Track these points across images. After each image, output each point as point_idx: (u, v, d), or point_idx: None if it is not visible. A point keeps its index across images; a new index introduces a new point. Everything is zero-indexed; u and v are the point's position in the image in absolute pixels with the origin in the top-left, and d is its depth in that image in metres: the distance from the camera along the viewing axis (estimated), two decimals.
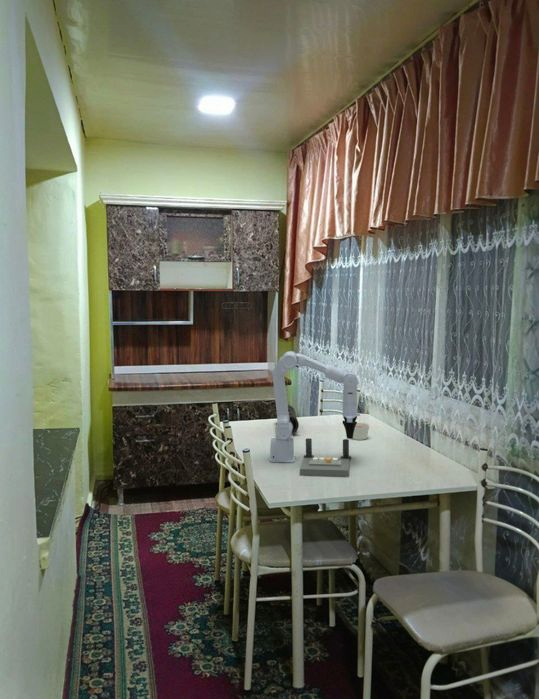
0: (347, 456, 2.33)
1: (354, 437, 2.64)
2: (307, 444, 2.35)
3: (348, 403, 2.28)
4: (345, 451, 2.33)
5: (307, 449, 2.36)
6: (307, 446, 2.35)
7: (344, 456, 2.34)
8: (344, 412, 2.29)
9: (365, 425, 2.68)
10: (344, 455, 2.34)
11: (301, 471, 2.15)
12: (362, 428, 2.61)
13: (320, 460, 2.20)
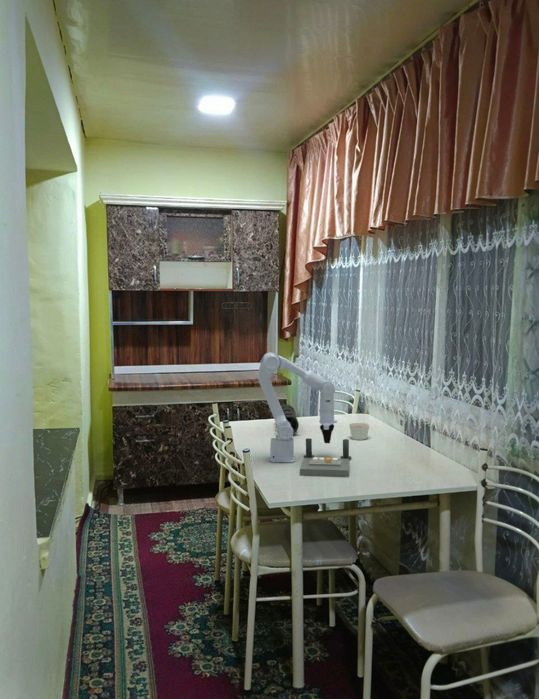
0: (347, 456, 2.33)
1: (354, 437, 2.64)
2: (307, 444, 2.35)
3: (326, 411, 2.32)
4: (345, 451, 2.33)
5: (307, 449, 2.36)
6: (307, 446, 2.35)
7: (344, 456, 2.34)
8: (321, 419, 2.33)
9: (365, 425, 2.68)
10: (344, 455, 2.34)
11: (301, 471, 2.15)
12: (362, 428, 2.61)
13: (320, 460, 2.20)
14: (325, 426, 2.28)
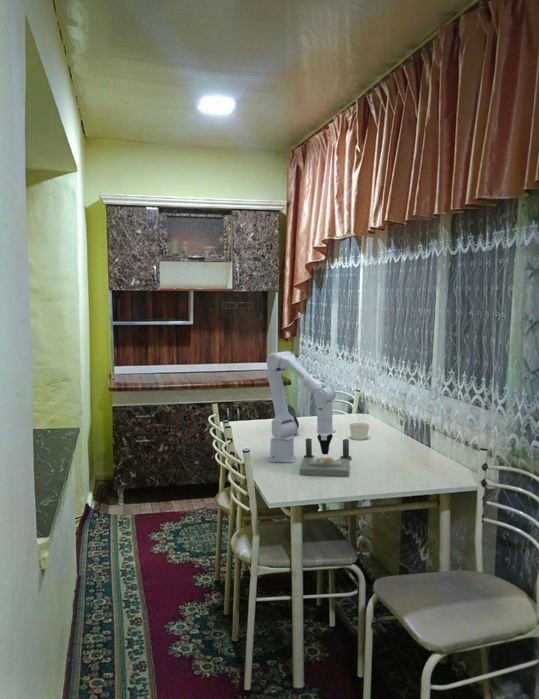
0: (347, 456, 2.33)
1: (354, 437, 2.64)
2: (307, 444, 2.35)
3: (318, 419, 2.17)
4: (345, 451, 2.33)
5: (307, 449, 2.36)
6: (307, 446, 2.35)
7: (344, 456, 2.34)
8: (319, 429, 2.18)
9: (365, 425, 2.68)
10: (344, 455, 2.34)
11: (301, 471, 2.15)
12: (362, 428, 2.61)
13: (320, 460, 2.20)
14: (323, 436, 2.12)
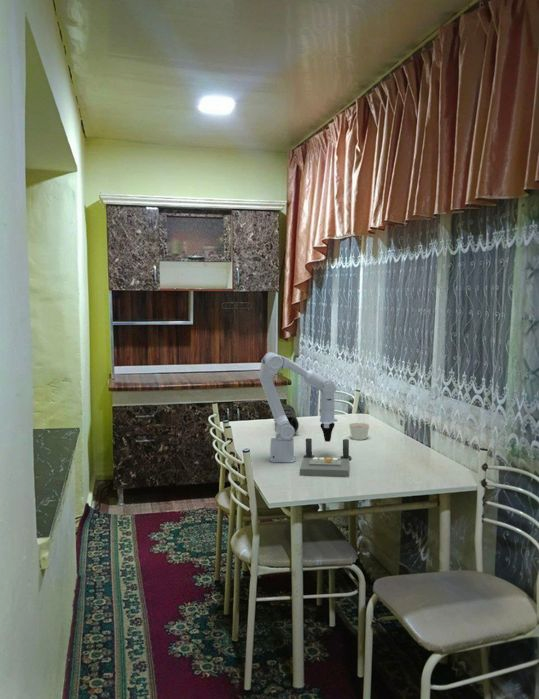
0: (347, 456, 2.33)
1: (354, 437, 2.64)
2: (307, 444, 2.35)
3: (327, 409, 2.34)
4: (345, 451, 2.33)
5: (307, 449, 2.36)
6: (307, 446, 2.35)
7: (344, 456, 2.34)
8: (321, 418, 2.36)
9: (365, 425, 2.68)
10: (344, 455, 2.34)
11: (301, 471, 2.15)
12: (362, 428, 2.61)
13: (320, 460, 2.20)
14: (325, 424, 2.30)
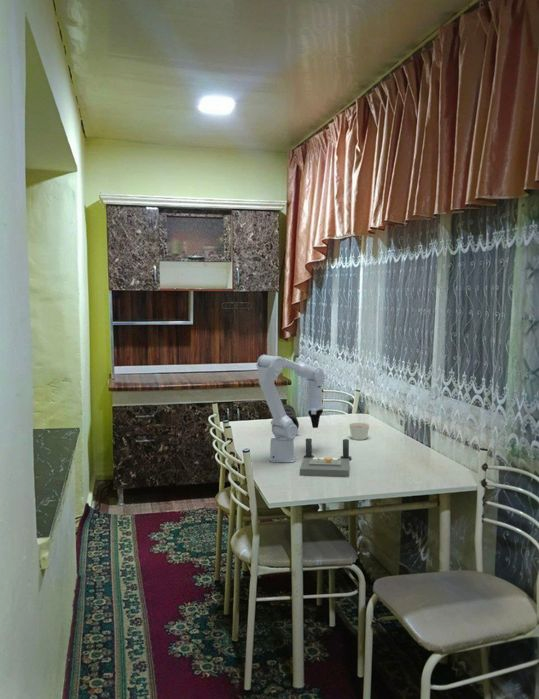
0: (347, 456, 2.33)
1: (354, 437, 2.64)
2: (307, 444, 2.35)
3: (318, 396, 2.41)
4: (345, 451, 2.33)
5: (307, 449, 2.36)
6: (307, 446, 2.35)
7: (344, 456, 2.34)
8: (309, 405, 2.43)
9: (365, 425, 2.68)
10: (344, 455, 2.34)
11: (301, 471, 2.15)
12: (362, 428, 2.61)
13: (320, 460, 2.20)
14: (312, 411, 2.37)
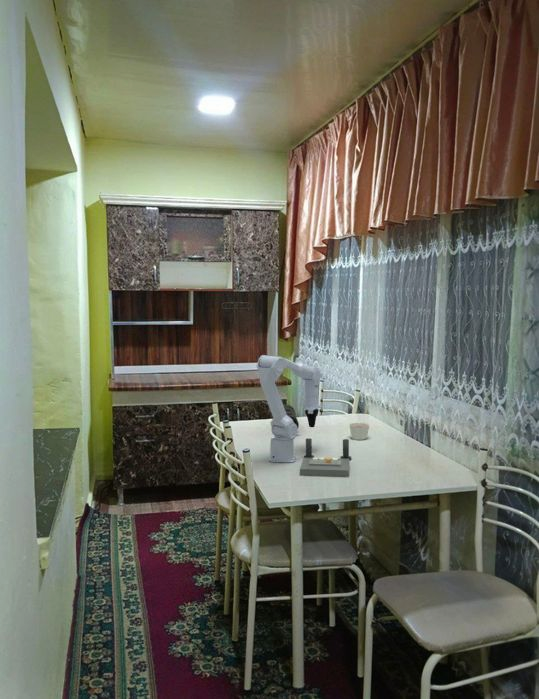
0: (347, 456, 2.33)
1: (354, 437, 2.64)
2: (307, 444, 2.35)
3: (315, 395, 2.43)
4: (345, 451, 2.33)
5: (307, 449, 2.36)
6: (307, 446, 2.35)
7: (344, 456, 2.34)
8: (306, 404, 2.44)
9: (365, 425, 2.68)
10: (344, 455, 2.34)
11: (301, 471, 2.15)
12: (362, 428, 2.61)
13: (320, 460, 2.20)
14: (309, 410, 2.39)
